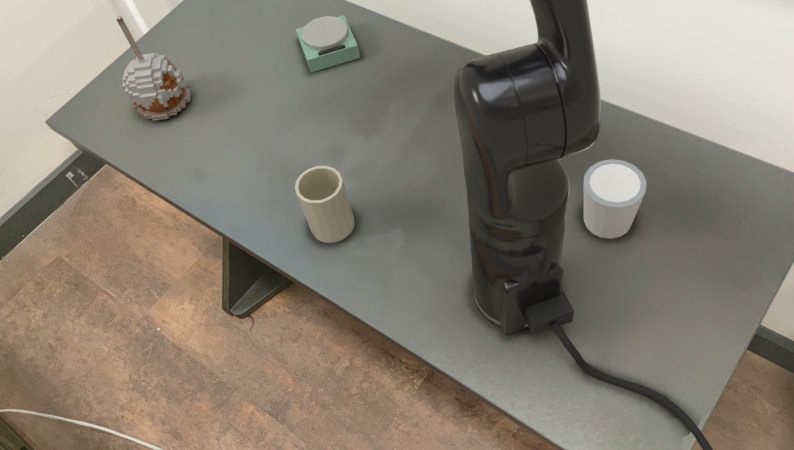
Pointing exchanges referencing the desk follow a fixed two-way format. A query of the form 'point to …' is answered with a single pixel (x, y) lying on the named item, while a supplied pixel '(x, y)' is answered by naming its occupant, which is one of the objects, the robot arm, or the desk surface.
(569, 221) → the desk surface
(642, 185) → the white cylinder
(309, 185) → the cup
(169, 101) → the voxel caramel apple
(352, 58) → the scale
